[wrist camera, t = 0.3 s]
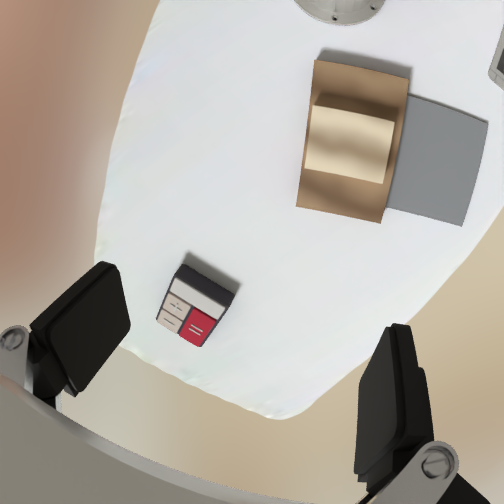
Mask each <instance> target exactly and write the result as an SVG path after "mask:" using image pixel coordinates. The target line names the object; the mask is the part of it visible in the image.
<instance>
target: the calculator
mask: <svg viewBox="0 0 504 504" xmlns="http://www.w3.org/2000/svg"><path fill="white" fill-rule="evenodd" d="M234 297H235V295H234V294H233V293H231V292H230V291H228V290H226V289H225V288H223V287H221V286H220V285H218V284H216V283H215V282H213V281H211V280H210V279H208V278H207V277H205V276H203V275H202V274H200V273H198V272H197V271H195V270H194V269H192V268H190V267H189V266H187V265H185V264H182V265H181V267H180V268H179V269H178V270H177V272H176V273H175V274H174V276H173V278H172V281H171V283H170V285H169V288H168V290H167V293H166V295H165V297H164V300H163V302H162V305H161V307H160V310H159V312H158V315H157V317H156V320H157V322H158V323H160V324H161V325H163V326H164V327H166V328H167V329H169V330H171V331H172V332H174V333H177V334H179V336H180V337H182V338H184V339H185V340H187V341H189V342H190V343H192V344H194V345H196V346H197V347H202V345H203V344H204V343H205V341H206V340H207V338H208V337H209V336H210V334H211V333H212V331H213V330H214V328H215V327H216V326H217V324H218V323H219V321H220V320H221V319H222V317H223V316H224V314H225V313H226V311H227V310H228V308H229V307H230V305H231V303H232V301H233V299H234Z"/></svg>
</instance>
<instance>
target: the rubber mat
mask: <svg viewBox="0 0 504 504" xmlns="http://www.w3.org/2000/svg"><path fill="white" fill-rule="evenodd" d="M487 130H488V124H487V123H485V122H482V121H480V120H477V119H475V118H473V117H470V116H468V115H465V114H462V113H460V112H457V111H454V110H452V109H449V108H446V107H443V106H440V105H437V104H434V103H431V102H428V101H425V100H422V99H419V98H415V97H412V96H408V95H407V99H406V106H405V113H404V119H403V125H402V131H401V136H400V142H399V147H398V152H397V157H396V162H395V166H394V171H393V176H392V180H391V184H390V189H389V193H388V197H387V201H386V205H385V207H388V208H392V209H396V210H401V211H405V212H409V213H413V214H417V215H421V216H425V217H428V218H432V219H436V220H440V221H443V222H447V223H451V224H454V225H458V226H461V227H462V225H463V222H464V219H465V216H466V213H467V210H468V206H469V203H470V200H471V196H472V193H473V190H474V186H475V182H476V179H477V175H478V171H479V167H480V163H481V159H482V154H483V150H484V145H485V140H486V135H487Z"/></svg>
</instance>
